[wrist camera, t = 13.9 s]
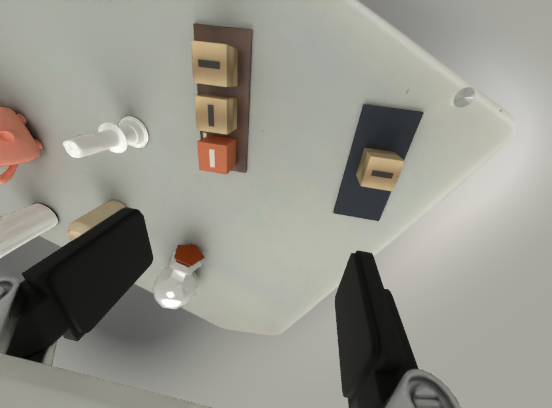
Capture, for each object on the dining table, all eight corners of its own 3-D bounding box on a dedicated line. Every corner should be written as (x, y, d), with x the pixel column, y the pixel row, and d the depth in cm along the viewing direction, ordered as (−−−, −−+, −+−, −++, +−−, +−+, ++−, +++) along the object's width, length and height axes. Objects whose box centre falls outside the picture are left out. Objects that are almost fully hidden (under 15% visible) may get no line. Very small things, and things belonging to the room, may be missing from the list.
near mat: (363, 104, 31) (364, 104, 31) (422, 112, 30) (423, 112, 30) (333, 211, 40) (333, 213, 40) (378, 219, 39) (378, 221, 39)
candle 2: (130, 205, 47) (88, 233, 38) (130, 224, 50) (91, 254, 41) (105, 196, 47) (58, 221, 38) (107, 216, 50) (63, 244, 41)
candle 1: (115, 132, 39) (43, 149, 29) (127, 109, 37) (53, 119, 26) (141, 153, 40) (81, 177, 30) (154, 132, 38) (93, 151, 28)
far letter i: (208, 93, 33) (194, 95, 29) (237, 97, 33) (226, 99, 29) (209, 124, 35) (196, 130, 31) (236, 128, 35) (226, 134, 31)
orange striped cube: (209, 134, 36) (196, 141, 32) (236, 138, 36) (226, 145, 32) (211, 161, 38) (199, 170, 34) (235, 165, 38) (226, 174, 34)
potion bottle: (180, 278, 58) (196, 235, 52) (198, 307, 54) (218, 264, 48) (142, 290, 51) (156, 243, 45) (159, 326, 46) (177, 278, 40)
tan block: (364, 147, 33) (370, 156, 29) (394, 151, 33) (405, 161, 29) (355, 174, 36) (360, 186, 32) (384, 179, 35) (392, 191, 31)
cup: (48, 197, 50) (-41, 235, 37) (69, 227, 53) (-5, 270, 41) (23, 200, 52) (-70, 237, 39) (45, 229, 55) (-33, 271, 43)
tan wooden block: (206, 45, 30) (190, 39, 26) (238, 49, 30) (226, 44, 26) (208, 82, 32) (193, 82, 28) (237, 86, 32) (226, 87, 28)
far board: (195, 24, 30) (192, 23, 29) (252, 30, 29) (251, 29, 28) (203, 164, 40) (202, 166, 39) (246, 171, 39) (245, 173, 38)
